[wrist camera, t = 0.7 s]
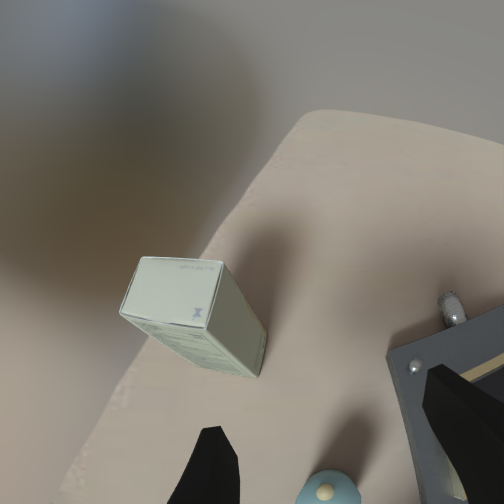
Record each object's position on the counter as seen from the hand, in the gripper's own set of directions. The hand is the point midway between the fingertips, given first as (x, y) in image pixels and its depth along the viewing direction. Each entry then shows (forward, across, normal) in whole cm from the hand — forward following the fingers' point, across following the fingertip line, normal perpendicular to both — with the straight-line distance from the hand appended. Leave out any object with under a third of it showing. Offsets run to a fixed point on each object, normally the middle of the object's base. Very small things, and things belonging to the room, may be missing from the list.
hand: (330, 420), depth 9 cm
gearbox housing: (+6, -14, +14) cm, 20 cm away
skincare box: (+16, +6, +8) cm, 19 cm away
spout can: (+4, 0, +16) cm, 16 cm away
